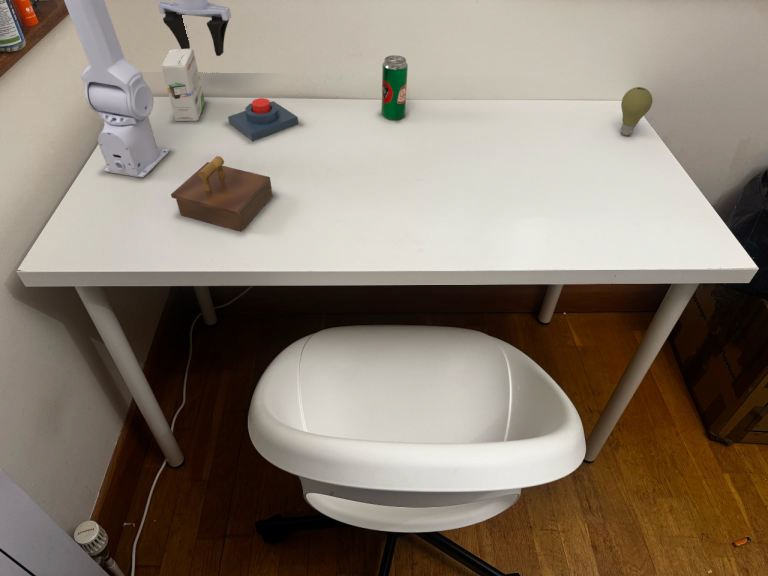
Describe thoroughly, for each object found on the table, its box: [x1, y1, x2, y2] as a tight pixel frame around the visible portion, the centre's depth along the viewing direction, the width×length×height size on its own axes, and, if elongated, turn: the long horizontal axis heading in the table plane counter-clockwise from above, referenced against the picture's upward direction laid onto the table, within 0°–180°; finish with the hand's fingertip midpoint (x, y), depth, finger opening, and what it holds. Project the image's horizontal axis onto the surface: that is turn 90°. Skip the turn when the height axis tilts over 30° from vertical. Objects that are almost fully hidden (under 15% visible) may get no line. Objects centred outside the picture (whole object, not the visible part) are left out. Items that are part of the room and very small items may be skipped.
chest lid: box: [170, 155, 271, 215], centre depth 93 cm, size 12×11×5 cm
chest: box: [175, 180, 274, 233], centre depth 95 cm, size 12×11×3 cm
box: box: [227, 100, 299, 142], centre depth 116 cm, size 11×9×4 cm
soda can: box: [381, 54, 409, 121], centre depth 116 cm, size 5×5×12 cm
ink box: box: [160, 48, 205, 122], centre depth 116 cm, size 8×5×12 cm, turn 3°
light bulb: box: [620, 86, 653, 137], centre depth 113 cm, size 6×6×10 cm
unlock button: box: [251, 97, 271, 114], centre depth 114 cm, size 4×4×2 cm
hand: (203, 52), depth 118 cm, fingers open, 7 cm apart
